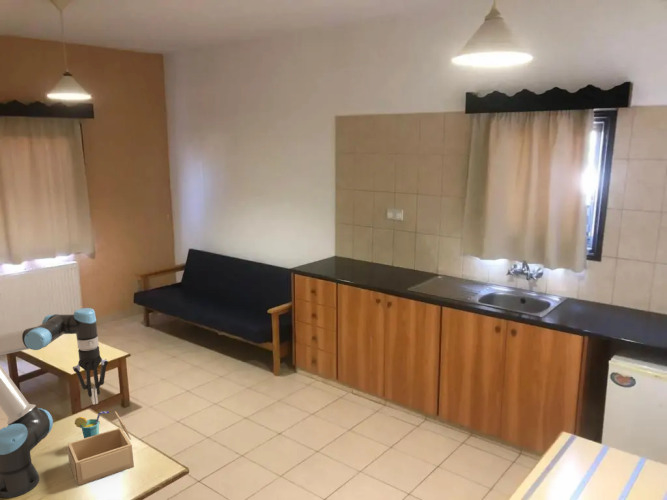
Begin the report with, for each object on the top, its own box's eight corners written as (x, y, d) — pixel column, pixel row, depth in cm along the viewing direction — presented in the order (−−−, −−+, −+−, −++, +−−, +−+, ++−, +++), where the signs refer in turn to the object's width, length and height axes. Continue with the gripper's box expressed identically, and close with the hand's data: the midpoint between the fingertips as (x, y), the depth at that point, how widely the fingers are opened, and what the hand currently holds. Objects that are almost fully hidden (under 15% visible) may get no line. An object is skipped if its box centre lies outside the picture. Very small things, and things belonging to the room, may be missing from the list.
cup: (111, 436, 244) (108, 406, 241) (112, 445, 237) (108, 414, 234) (77, 444, 239) (73, 413, 236) (77, 453, 232) (73, 421, 229)
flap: (123, 425, 217) (124, 424, 218) (114, 411, 229) (115, 411, 229) (130, 439, 220) (131, 439, 220) (121, 425, 231) (122, 425, 231)
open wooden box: (77, 487, 208) (74, 464, 206) (68, 465, 223) (66, 443, 221) (134, 467, 221) (132, 445, 219) (122, 447, 235) (120, 426, 233)
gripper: (71, 354, 205) (78, 411, 209) (108, 346, 212) (114, 401, 217) (68, 348, 211) (75, 403, 216) (104, 340, 218) (110, 394, 223)
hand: (94, 402), depth 216 cm, fingers closed
